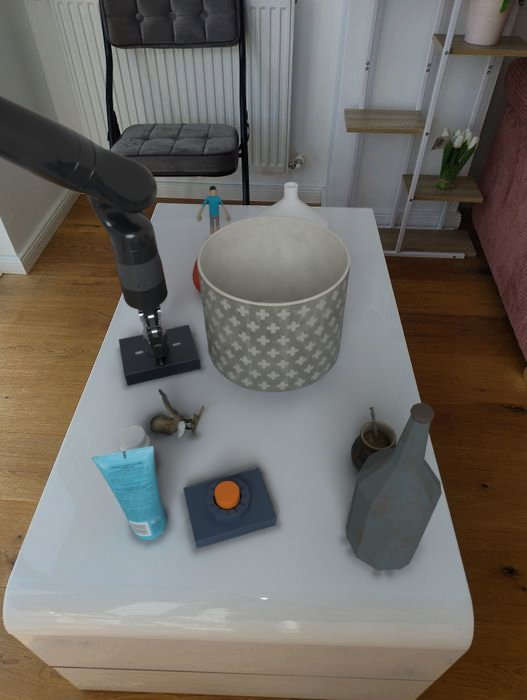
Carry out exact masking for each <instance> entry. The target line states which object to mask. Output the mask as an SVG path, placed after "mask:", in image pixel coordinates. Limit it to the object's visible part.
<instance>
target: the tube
mask: <svg viewBox="0 0 527 700" xmlns="http://www.w3.org/2000/svg"><path fill="white" fill-rule="evenodd" d="M154 448H155V447H154V445H151V446H148V447H142V448H137V449H131V450H126V451H120V450H119V451H115V452H111V453H106V454H102V455H97V456H91V460H92V461H93V463H94V464H95V466H96V467H97V469H98V470H99V472H100V473H101V475H102V477H103V479H104V480H105V481H106V484H107V485H108V487H109V488H110V490H111V492H112V494H113V495H114V498H115V499H116V501H117V503H118V505H119V507H120V509H121V511H122V512H123V514H124V515H125V518H126V519H127V522H128V523H129V526H130V527H131V529H132V531H133V533H134V534H135V537H137V538H138V539H140V540H143V541H152V540H155V539H157V538H158V537H160V536H161V535H162V534H164V531H165V530H166V527H167V517H166V513H165V509H164V505H163V500H162V497H161V492H160V488H159V487H160V486H159V482H158V477H157V471H156V461H155V462H154V457H155V449H154Z"/></svg>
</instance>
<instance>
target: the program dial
mask: <svg viewBox="0 0 527 700" xmlns="http://www.w3.org/2000/svg"><path fill="white" fill-rule="evenodd" d="M159 325H160V323H159V324H158V325H157V326H156V327H158V326H159ZM146 327H147V328H151V327H148V326H147V325H146ZM163 327H164V332H162V334H163V338H164V342H165V347H164V348H165V352H166V353H167V352H168V350H169V342H168V337H167V332H166V329H167V328H166V327H165V326H164V325H163ZM141 332H142V333H141V335H143V339H144V343H145V347H146V351H147V353H148V354H149V355H151V356H154V354H153V350H152V349H151V348H150V346H151V345H150V344H149V337H148V336H147V335H145V331H144V328H143V329H142V331H141Z"/></svg>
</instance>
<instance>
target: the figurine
mask: <svg viewBox="0 0 527 700" xmlns="http://www.w3.org/2000/svg"><path fill="white" fill-rule="evenodd" d="M208 190H209V195H208V196H206V197H205V198H204V201H203V203H202V205H201V208H200V209H199V211H198V214H197V217H196V221H197V222H198V223H200V222H202V220H203V217H202V214H203V211H204V210H205V207H206V206H207V203H208V213H209V215H208V216H209V232H210V233H209V235H210V236H211V235H212V234H213V233H215V232H216V231H217V230H219V229H221V227H220V206H221V207H222V210H223V211H224V213H225V220H226V222H227V223H231V221H232V218H231V216H230V214H229V211H227V209H226V206H225V205H224V203H223V201H222V199H221V197H220V196H219V195H217V187H216V186H215V185H210V186H209V189H208ZM210 236H209V237H210Z"/></svg>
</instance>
